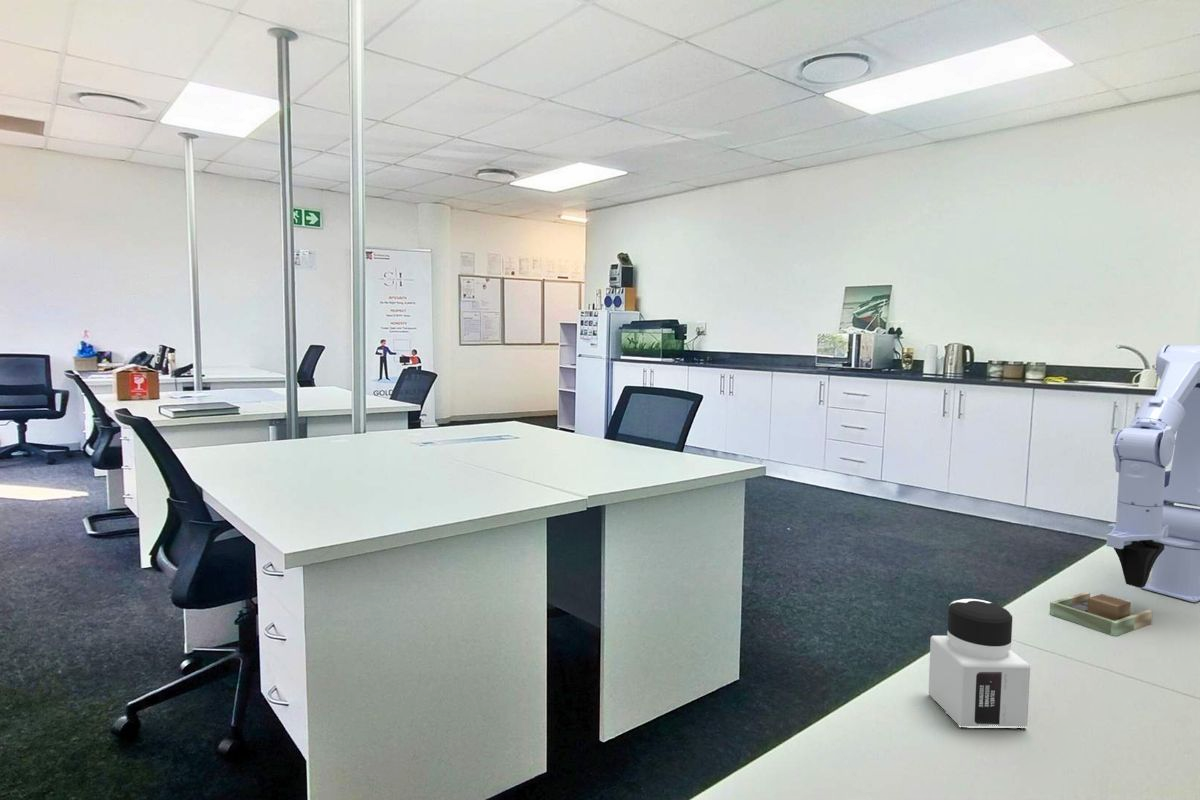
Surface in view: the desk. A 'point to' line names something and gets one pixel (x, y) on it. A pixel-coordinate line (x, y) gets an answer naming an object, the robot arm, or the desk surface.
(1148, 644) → the desk surface
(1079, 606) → the tiles
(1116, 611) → the block
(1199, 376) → the robot arm
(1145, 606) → the desk surface
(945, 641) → the container
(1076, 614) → the green beige u-shaped frame
